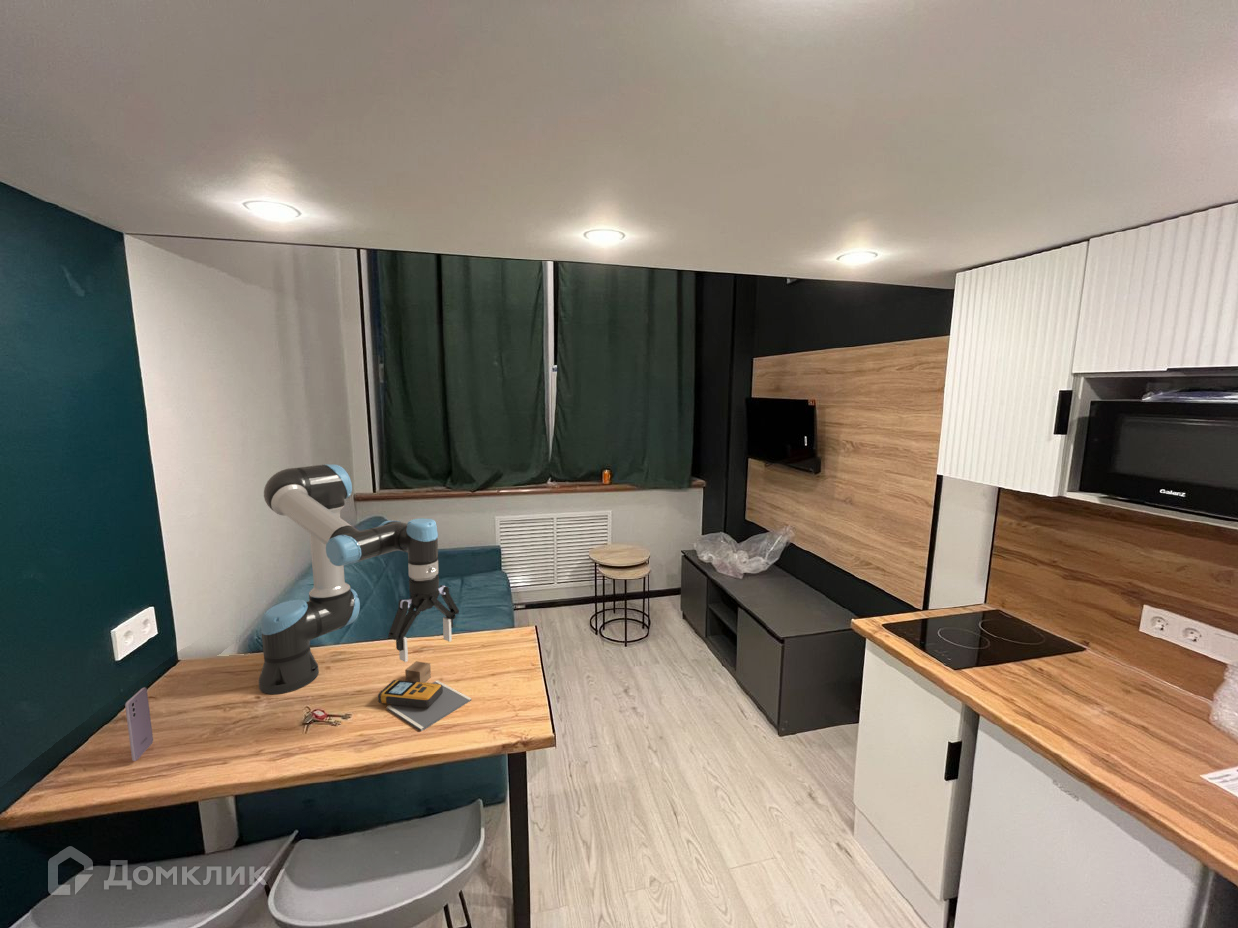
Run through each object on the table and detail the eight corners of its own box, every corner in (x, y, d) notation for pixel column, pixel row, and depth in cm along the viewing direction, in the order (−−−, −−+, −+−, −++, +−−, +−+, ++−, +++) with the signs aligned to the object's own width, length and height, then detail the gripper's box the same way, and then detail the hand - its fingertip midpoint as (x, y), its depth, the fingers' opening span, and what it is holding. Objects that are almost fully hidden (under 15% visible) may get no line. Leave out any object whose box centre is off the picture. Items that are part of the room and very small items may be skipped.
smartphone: (150, 742, 122) (143, 686, 120) (154, 741, 122) (147, 685, 120) (131, 762, 115) (124, 703, 113) (136, 762, 115) (128, 702, 113)
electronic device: (428, 711, 133) (427, 699, 133) (377, 704, 136) (376, 693, 136) (444, 692, 141) (444, 682, 141) (396, 687, 144) (395, 676, 144)
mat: (386, 709, 135) (386, 706, 135) (437, 682, 148) (437, 680, 148) (421, 731, 126) (421, 728, 126) (471, 700, 139) (471, 698, 139)
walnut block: (406, 685, 147) (405, 669, 146) (416, 676, 152) (416, 661, 151) (420, 687, 146) (419, 671, 145) (430, 678, 151) (430, 663, 150)
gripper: (387, 593, 120) (391, 674, 123) (470, 566, 141) (472, 636, 143) (371, 586, 125) (375, 664, 127) (454, 561, 145) (455, 628, 148)
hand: (426, 649), depth 135 cm, fingers open, 13 cm apart
